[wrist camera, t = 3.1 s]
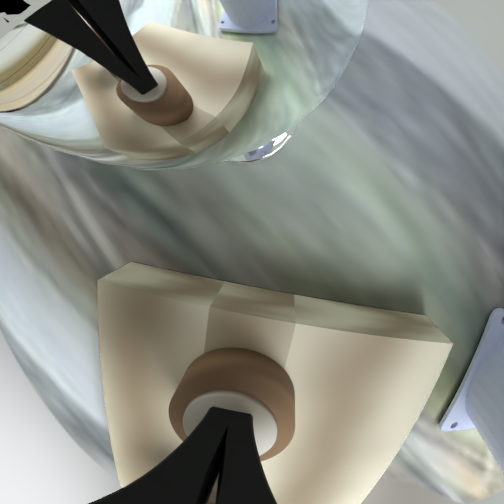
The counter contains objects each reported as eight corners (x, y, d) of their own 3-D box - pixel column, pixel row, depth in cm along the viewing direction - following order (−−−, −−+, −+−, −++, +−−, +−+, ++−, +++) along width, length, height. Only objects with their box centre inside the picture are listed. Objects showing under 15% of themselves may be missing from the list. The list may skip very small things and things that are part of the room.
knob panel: (425, 315, 13) (453, 343, 10) (338, 493, 16) (341, 526, 13) (131, 261, 14) (97, 280, 11) (136, 456, 17) (120, 486, 14)
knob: (303, 324, 14) (310, 394, 9) (282, 400, 15) (279, 476, 10) (205, 306, 14) (166, 365, 9) (197, 383, 15) (166, 453, 10)
